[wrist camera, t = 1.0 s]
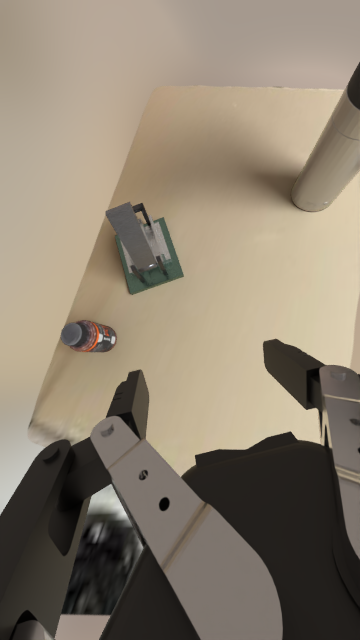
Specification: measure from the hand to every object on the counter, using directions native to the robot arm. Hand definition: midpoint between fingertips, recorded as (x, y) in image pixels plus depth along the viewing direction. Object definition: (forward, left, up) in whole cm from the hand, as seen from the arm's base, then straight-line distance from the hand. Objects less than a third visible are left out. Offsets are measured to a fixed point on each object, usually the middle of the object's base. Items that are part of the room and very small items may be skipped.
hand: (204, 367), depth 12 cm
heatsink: (-22, -17, -28) cm, 39 cm away
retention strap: (-16, -14, -22) cm, 31 cm away
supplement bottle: (0, -23, -28) cm, 36 cm away
